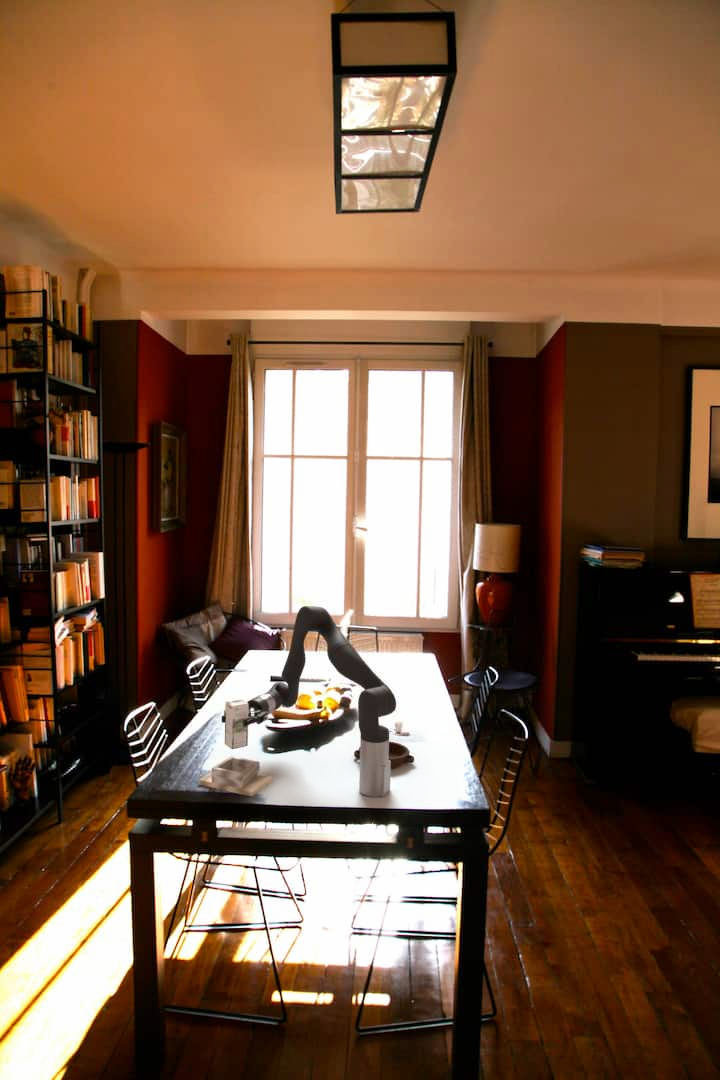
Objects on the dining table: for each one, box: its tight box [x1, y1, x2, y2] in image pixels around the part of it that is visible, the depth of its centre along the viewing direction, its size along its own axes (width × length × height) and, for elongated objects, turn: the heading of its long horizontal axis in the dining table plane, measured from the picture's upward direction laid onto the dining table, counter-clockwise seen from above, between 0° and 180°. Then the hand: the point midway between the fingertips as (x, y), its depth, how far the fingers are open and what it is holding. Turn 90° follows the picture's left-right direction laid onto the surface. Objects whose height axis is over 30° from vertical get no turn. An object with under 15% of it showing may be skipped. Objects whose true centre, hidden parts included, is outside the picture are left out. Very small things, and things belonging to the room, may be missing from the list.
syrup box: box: [224, 698, 249, 750], centre depth 196 cm, size 6×6×14 cm
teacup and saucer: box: [389, 721, 410, 736], centre depth 247 cm, size 9×8×4 cm
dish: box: [353, 741, 415, 769], centre depth 216 cm, size 18×22×5 cm
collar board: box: [198, 755, 273, 798], centre depth 196 cm, size 20×12×6 cm, turn 68°
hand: (233, 721), depth 194 cm, fingers closed on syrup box, 8 cm apart
